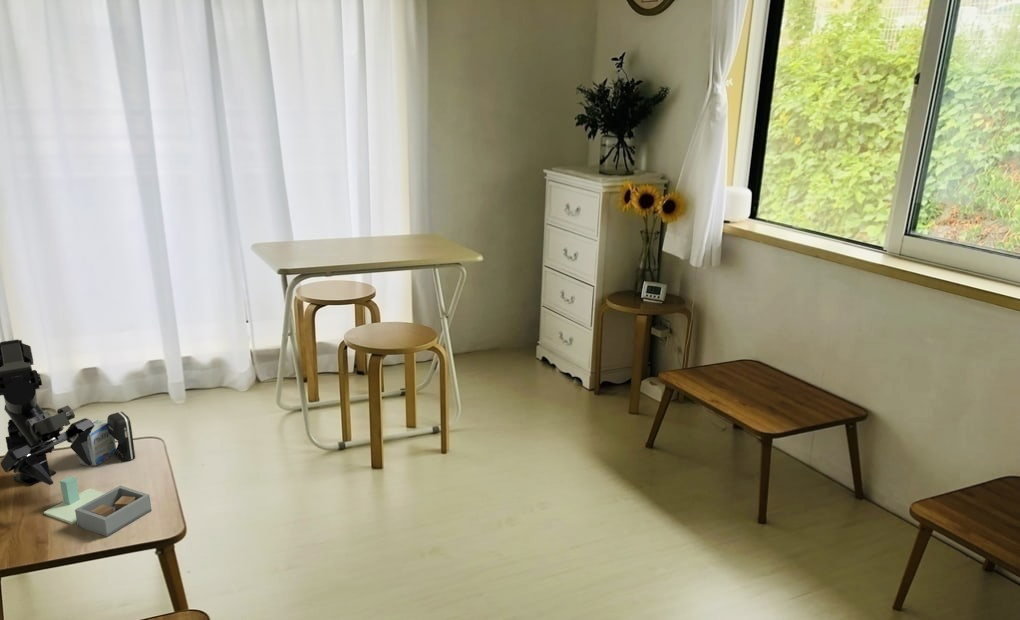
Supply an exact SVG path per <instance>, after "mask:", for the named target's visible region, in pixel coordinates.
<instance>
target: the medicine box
mask: <svg viewBox="0 0 1020 620" xmlns="http://www.w3.org/2000/svg"><path fill="white" fill-rule="evenodd" d="M92 423H93V424H94V425H95V426H94V427H93V429H92V430H91V433H90V434H89V435H88V438H87V442H88V449H89V453H90V457H91V461H92V465H91V466H95V467H96V466H97V465H100V462H101V463H102V462H103V460H104V459H105V460H106V459H108V458H109V457H111V456H112V455H113V453H114V454H115V451H116V448H117V443H116V439H115V438H114V437H113V436H112V435H110V433H109V432H108V424H107V419H106V420H104V419H97V420H95V421H93V422H92ZM110 455H111V456H110ZM107 457H108V458H107ZM78 459H79V463H80V465H85V466H88V465H87V464H85V463H84V462H83V461H82V459H81V458H80V457H79V456H78ZM105 460H104V461H105Z"/></svg>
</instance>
